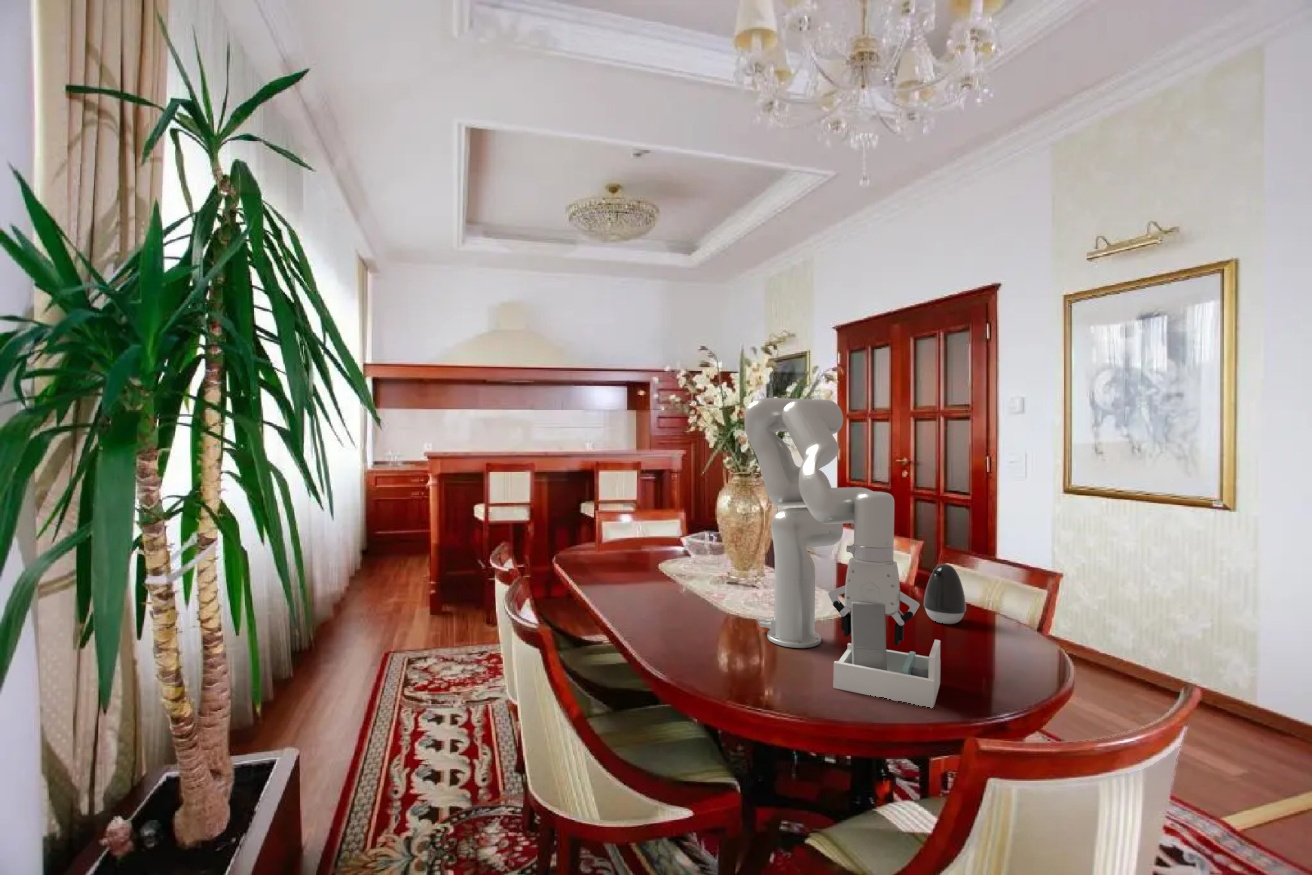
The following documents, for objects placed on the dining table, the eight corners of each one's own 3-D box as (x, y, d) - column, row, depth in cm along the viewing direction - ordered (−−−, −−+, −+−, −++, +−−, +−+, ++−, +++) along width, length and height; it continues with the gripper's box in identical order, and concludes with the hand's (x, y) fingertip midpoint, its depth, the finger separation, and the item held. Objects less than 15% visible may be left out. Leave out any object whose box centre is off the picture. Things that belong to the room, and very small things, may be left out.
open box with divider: (833, 687, 123) (833, 642, 123) (848, 666, 135) (848, 624, 135) (933, 708, 115) (934, 659, 114) (940, 683, 126) (940, 638, 126)
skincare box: (887, 687, 121) (889, 605, 121) (849, 682, 123) (850, 602, 123) (885, 671, 130) (887, 594, 129) (849, 666, 132) (850, 591, 131)
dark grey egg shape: (915, 619, 168) (916, 563, 168) (937, 613, 174) (938, 558, 174) (951, 630, 160) (952, 570, 160) (973, 622, 166) (974, 565, 166)
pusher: (902, 692, 119) (902, 667, 119) (909, 674, 127) (910, 651, 127) (926, 697, 117) (927, 671, 116) (932, 678, 125) (932, 654, 125)
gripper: (825, 552, 127) (823, 636, 127) (917, 562, 118) (915, 652, 119) (834, 546, 133) (832, 626, 134) (922, 555, 125) (920, 641, 125)
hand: (871, 638), depth 126 cm, fingers open, 9 cm apart
